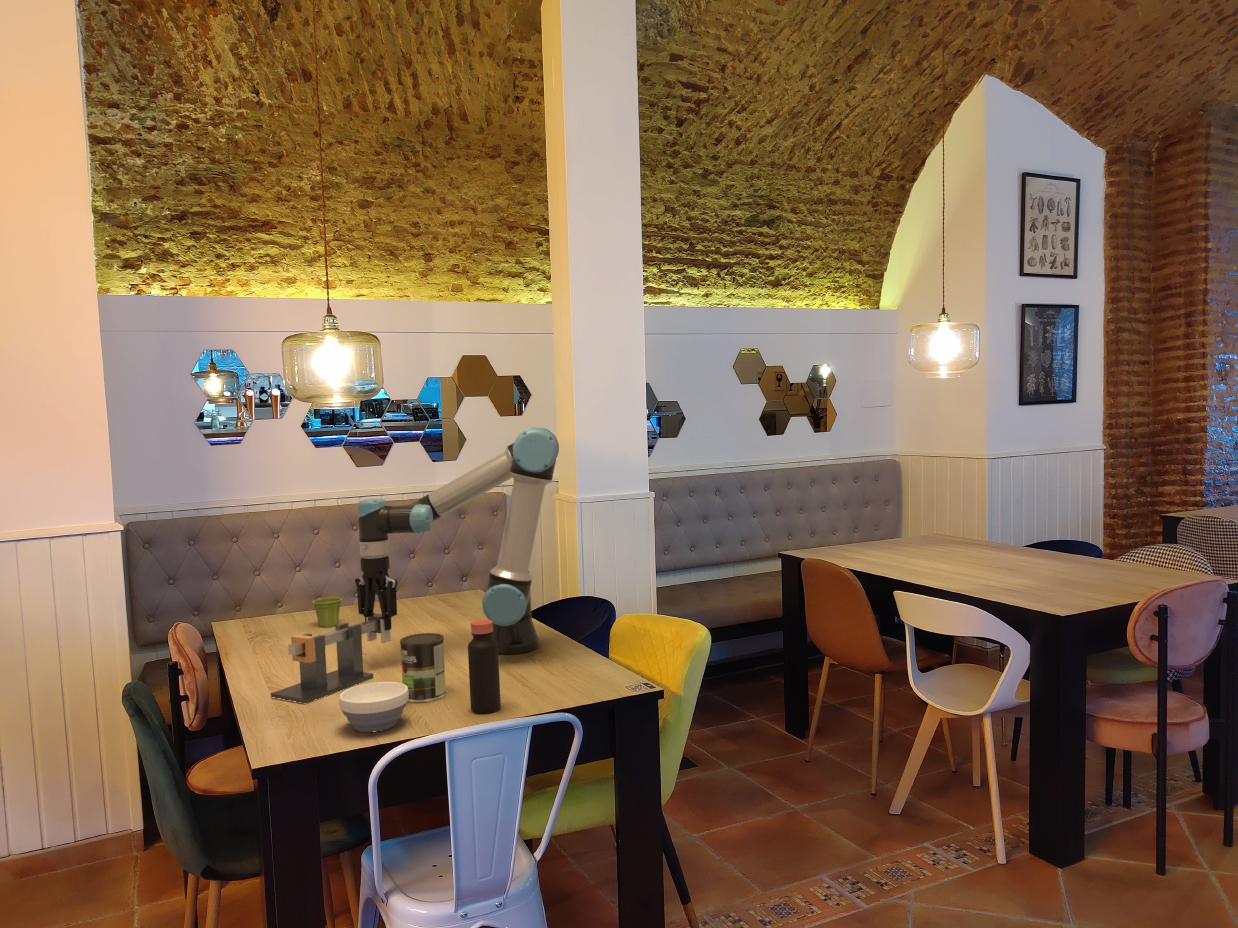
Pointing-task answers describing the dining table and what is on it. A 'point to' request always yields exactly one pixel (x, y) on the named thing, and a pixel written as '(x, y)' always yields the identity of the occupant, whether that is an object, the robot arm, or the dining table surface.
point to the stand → (324, 683)
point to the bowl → (374, 705)
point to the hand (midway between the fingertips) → (379, 640)
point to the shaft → (341, 634)
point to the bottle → (483, 669)
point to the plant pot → (327, 611)
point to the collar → (309, 648)
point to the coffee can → (423, 666)
